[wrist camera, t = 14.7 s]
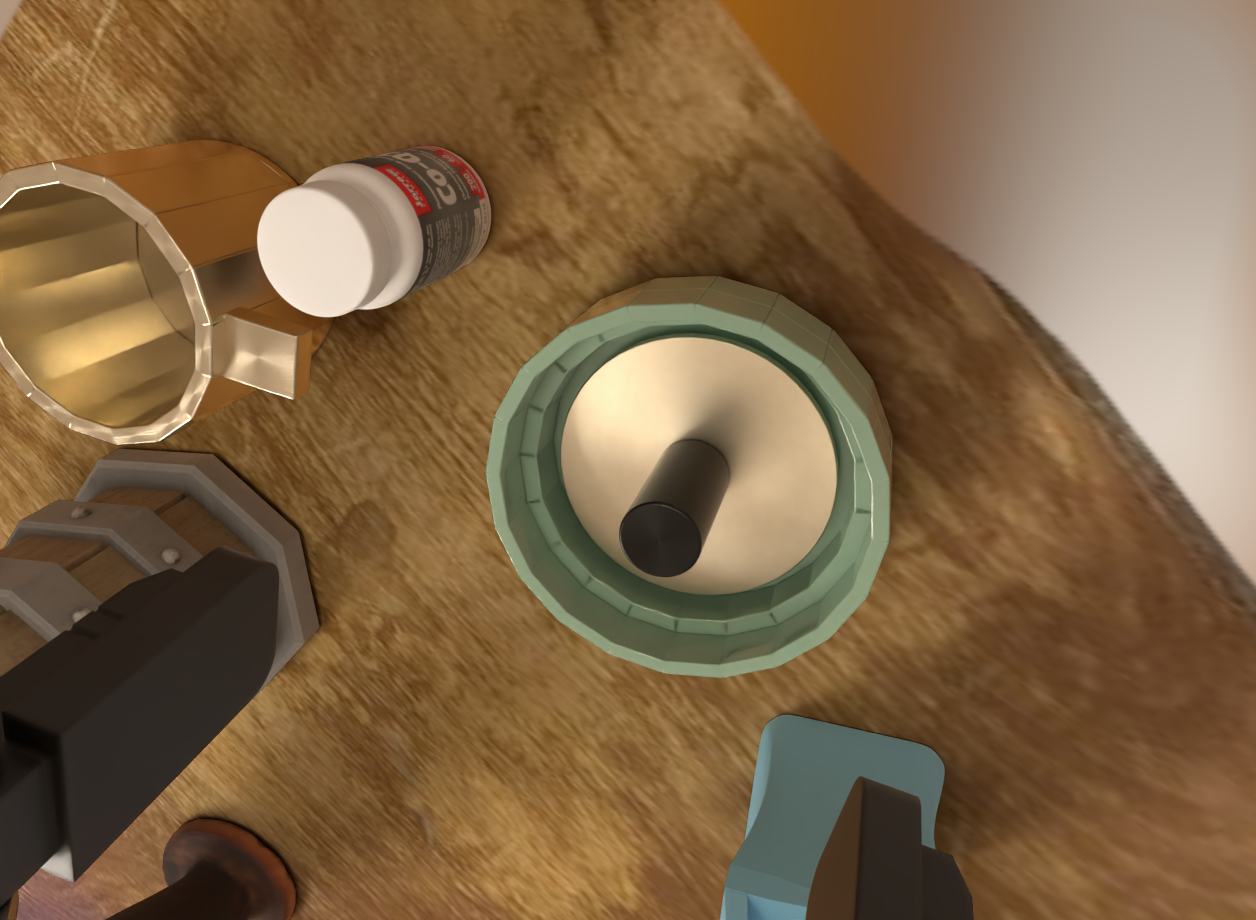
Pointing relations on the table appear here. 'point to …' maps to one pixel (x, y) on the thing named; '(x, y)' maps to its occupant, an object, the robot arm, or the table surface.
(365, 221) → the pill bottle
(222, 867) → the vase
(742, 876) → the vase
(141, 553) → the tankard
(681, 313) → the bowl
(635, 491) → the pot lid
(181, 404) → the pot
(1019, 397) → the table surface
